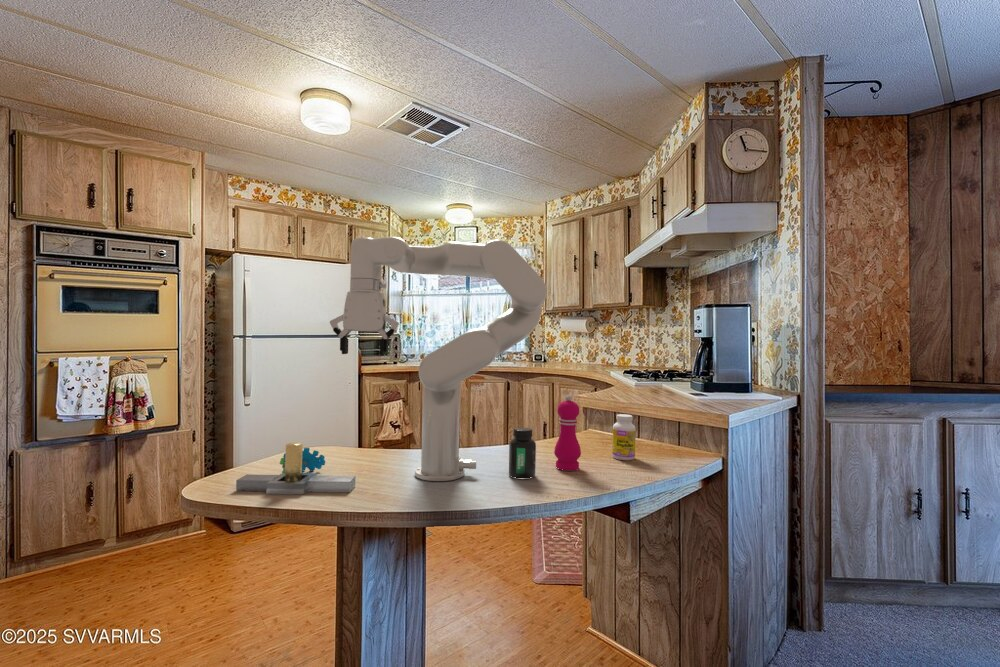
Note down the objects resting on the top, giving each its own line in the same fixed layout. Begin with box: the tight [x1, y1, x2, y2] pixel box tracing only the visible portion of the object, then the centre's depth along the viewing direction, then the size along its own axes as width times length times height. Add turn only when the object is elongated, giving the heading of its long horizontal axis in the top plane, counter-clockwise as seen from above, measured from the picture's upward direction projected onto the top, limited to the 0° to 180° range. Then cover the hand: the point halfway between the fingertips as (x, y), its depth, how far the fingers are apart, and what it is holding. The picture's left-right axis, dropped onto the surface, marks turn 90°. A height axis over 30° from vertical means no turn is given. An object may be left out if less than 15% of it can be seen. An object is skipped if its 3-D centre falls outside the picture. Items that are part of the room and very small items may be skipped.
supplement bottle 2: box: [611, 413, 637, 461], centre depth 141 cm, size 7×7×13 cm
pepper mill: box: [553, 394, 582, 471], centre depth 129 cm, size 7×7×20 cm
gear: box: [279, 447, 326, 474], centre depth 116 cm, size 11×6×10 cm
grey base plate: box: [235, 472, 357, 495], centre depth 106 cm, size 25×8×2 cm, turn 91°
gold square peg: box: [285, 442, 303, 481], centre depth 107 cm, size 4×4×10 cm
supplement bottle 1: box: [508, 427, 537, 478], centre depth 120 cm, size 7×7×12 cm
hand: (363, 354), depth 120 cm, fingers open, 9 cm apart
